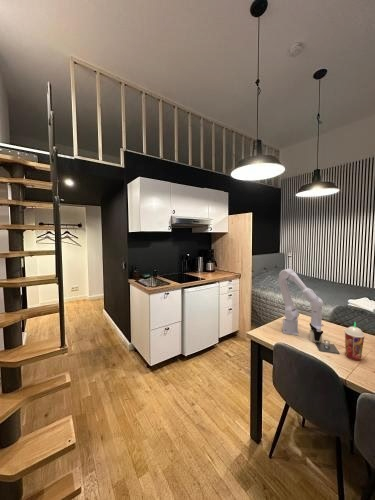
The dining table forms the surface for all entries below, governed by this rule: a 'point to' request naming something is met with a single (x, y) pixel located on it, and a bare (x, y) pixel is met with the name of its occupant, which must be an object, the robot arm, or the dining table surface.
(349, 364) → the dining table surface
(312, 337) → the collar
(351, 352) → the smoothie
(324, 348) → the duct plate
